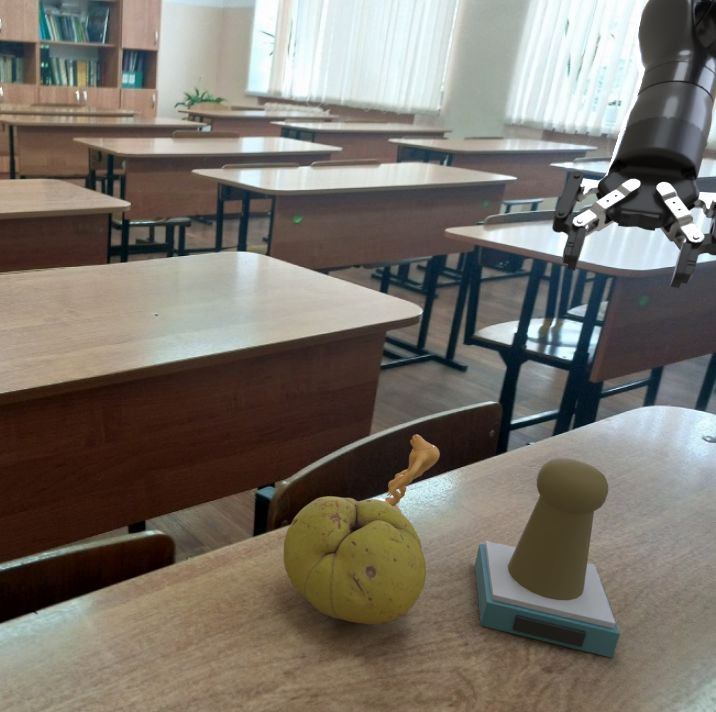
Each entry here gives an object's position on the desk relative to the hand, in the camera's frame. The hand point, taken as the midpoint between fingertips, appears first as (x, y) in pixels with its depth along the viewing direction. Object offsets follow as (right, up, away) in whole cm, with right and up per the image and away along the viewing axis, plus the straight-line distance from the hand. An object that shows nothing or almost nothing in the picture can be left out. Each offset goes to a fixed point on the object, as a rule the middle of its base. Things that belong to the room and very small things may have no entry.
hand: (622, 274), depth 68 cm
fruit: (-27, -30, -5) cm, 40 cm away
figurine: (-20, -26, +5) cm, 34 cm away
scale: (-10, -30, -3) cm, 32 cm away
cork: (-10, -27, -4) cm, 29 cm away
